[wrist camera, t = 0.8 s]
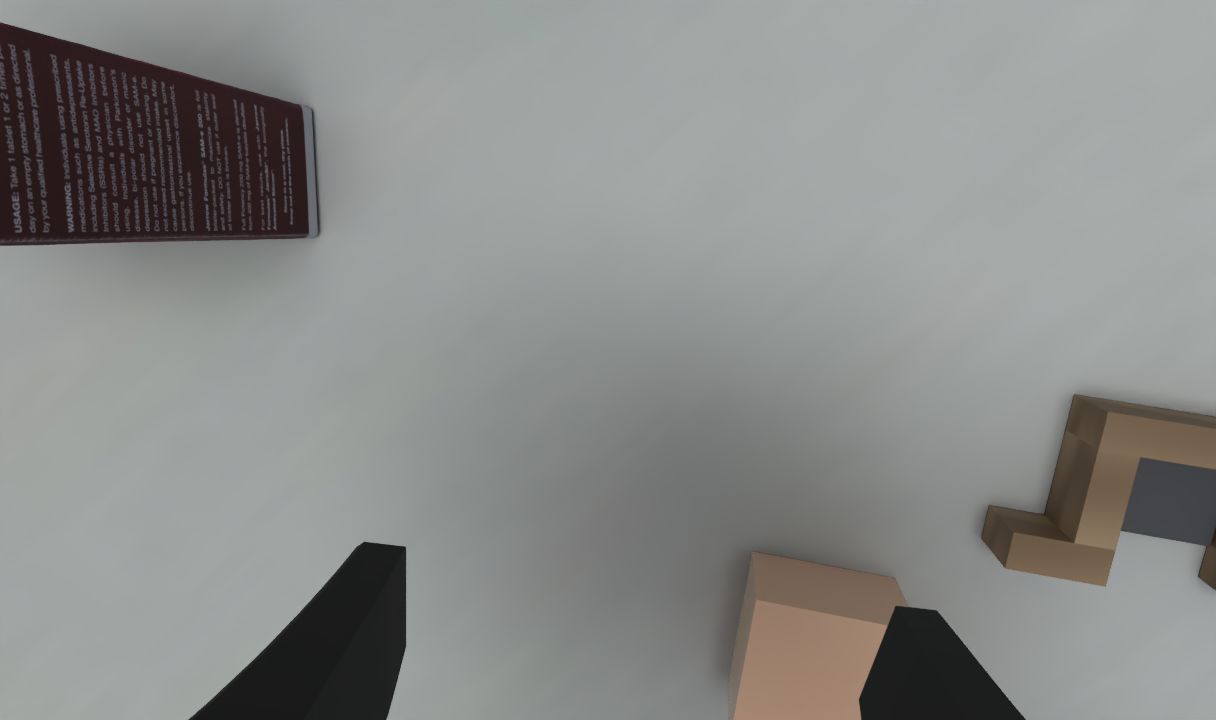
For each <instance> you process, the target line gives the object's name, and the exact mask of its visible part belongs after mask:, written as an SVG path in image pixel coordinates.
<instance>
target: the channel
mask: <svg viewBox="0 0 1216 720" xmlns="http://www.w3.org/2000/svg"><path fill="white" fill-rule="evenodd" d="M1140 457H1143V458H1149V459H1155V460H1161V461H1167V462H1173V463H1179V464H1185V465H1191V466H1197V467H1203V468H1210V469H1216V417H1213V416H1207V415H1201V414H1194V413H1188V412H1182V411H1175V410H1169V409H1163V408H1156V407H1150V406H1144V405H1137V404H1131V403H1125V402H1118V401H1112V400H1106V399H1099V398H1093V397H1087V396H1080V395H1074V398H1073V402H1072V406H1071V410H1070V414H1069V418H1068V422H1067V426H1066V430H1065V434H1064V438H1063V442H1062V446H1061V450H1060V454H1059V458H1058V462H1057V466H1056V470H1055V474H1054V478H1053V482H1052V486H1051V490H1050V494H1049V498H1048V502H1047V506H1046V510H1045V514H1044V515H1042V514H1036V513H1030V512H1025V511H1019V510H1013V509H1007V508H1002V507H996V506H990V505H989V509H988V513H987V517H986V521H985V525H984V530H983V534H982V540H983V541H984V542H985V544H986V545H987V546H988V547H989V549H990V550H991V551H992V552H993V554H994V555H995V556H996V557H997V559H998V560H999V561H1000V562H1001V564H1002V565H1003V566H1004V567H1005V568H1006V569H1012V570H1017V571H1023V572H1028V573H1034V574H1039V575H1045V576H1050V577H1056V578H1061V579H1067V580H1072V581H1078V582H1083V583H1089V584H1094V585H1100V586H1105V587H1106V583H1107V579H1108V576H1109V572H1110V568H1111V564H1112V561H1113V557H1114V553H1115V550H1116V546H1117V542H1118V538H1119V535H1120V531H1121V527H1122V523H1123V520H1124V516H1125V512H1126V509H1127V505H1128V501H1129V497H1130V494H1131V490H1132V486H1133V483H1134V479H1135V475H1136V471H1137V468H1138V464H1139V460H1140ZM1199 578H1200V579H1201V580H1203V581H1204V582H1205V583H1207V584H1208V585H1209V586H1211V587H1212V588H1213V589H1215V590H1216V527H1215V531H1214V534H1213V538H1212V541H1211V545H1210V546H1207V549H1206V552H1205V556H1204V559H1203V563H1202V566H1201V570H1200V573H1199Z"/></svg>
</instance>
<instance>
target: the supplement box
mask: <svg viewBox="0 0 1216 720" xmlns="http://www.w3.org/2000/svg"><path fill="white" fill-rule="evenodd" d="M317 234H318V226H317V205H316V184H315V166H314V145H313V125H312V111H311V109H310V108H309V107H306V106H302V105H298V104H293V103H290V102H286V101H282V100H280V99H277V98H273V97H268V96H264V95H261V94H258V93H254V92H251V91H247V90H243V89H239V88H236V87H233V86H229V85H225V84H221V83H217V82H214V81H210V80H206V79H202V78H199V77H196V76H192V75H189V74H186V73H182V72H178V71H174V70H170V69H167V68H163V67H160V66H156V65H153V64H149V63H145V62H142V61H138V60H134V59H130V58H127V57H123V56H119V55H116V54H112V53H109V52H105V51H102V50H98V49H95V48H91V47H88V46H85V45H82V44H78V43H74V42H70V41H66V40H62V39H58V38H54V37H51V36H47V35H44V34H40V33H37V32H33V31H29V30H26V29H22V28H18V27H15V26H11V25H8V24H4V23H0V246H12V245H56V244H83V243H121V242H163V241H210V240H257V239H295V238H314V237H316V236H317Z"/></svg>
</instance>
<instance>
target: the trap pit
mask: <svg viewBox="0 0 1216 720" xmlns="http://www.w3.org/2000/svg"><path fill="white" fill-rule="evenodd" d="M1215 527H1216V469H1210V468H1203V467H1197V466H1191V465H1185V464H1179V463H1173V462H1167V461H1161V460H1155V459H1149V458H1143V457H1140V460H1139V464H1138V468H1137V471H1136V475H1135V479H1134V483H1133V486H1132V490H1131V494H1130V497H1129V501H1128V505H1127V509H1126V512H1125V516H1124V520H1123V523H1122V527H1121V531H1125V532H1130V533H1136V534H1142V535H1148V536H1153V537H1159V538H1165V539H1171V540H1176V541H1182V542H1188V543H1193V544H1199V545H1205V546H1210V545H1211V541H1212V538H1213V534H1214V531H1215Z"/></svg>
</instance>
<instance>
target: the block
mask: <svg viewBox="0 0 1216 720" xmlns="http://www.w3.org/2000/svg"><path fill="white" fill-rule="evenodd" d="M895 606H903V607H908V605H907V603H906V601H905V599H904V596H903V594H902V592H901V590H900V588H899V586H898V584H897V581H896V579H895V578H890V577H885V576H880V575H875V574H869V573H864V572H859V571H853V570H848V569H843V568H838V567H832V566H827V565H822V564H817V563H811V562H806V561H801V560H796V559H790V558H785V557H780V556H774V555H769V554H764V553H759V552H753V551H752V556H751V561H750V567H749V572H748V577H747V583H746V588H745V593H744V599H743V604H742V609H741V615H740V620H739V625H738V631H737V636H736V641H735V647H734V652H733V657H732V663H731V668H730V673H729V720H861V713H860V705H859V697H860V695H861V692H862V690H863V687H864V685H865V682H866V680H867V677H868V674H869V672H870V669H871V667H872V664H873V662H874V659H875V657H876V654H877V652H878V649H879V647H880V644H881V641H882V639H883V636H884V634H885V631H886V629H887V626H888V624H889V621H890V619H891V616H892V614H893V611H894V608H895Z"/></svg>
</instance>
